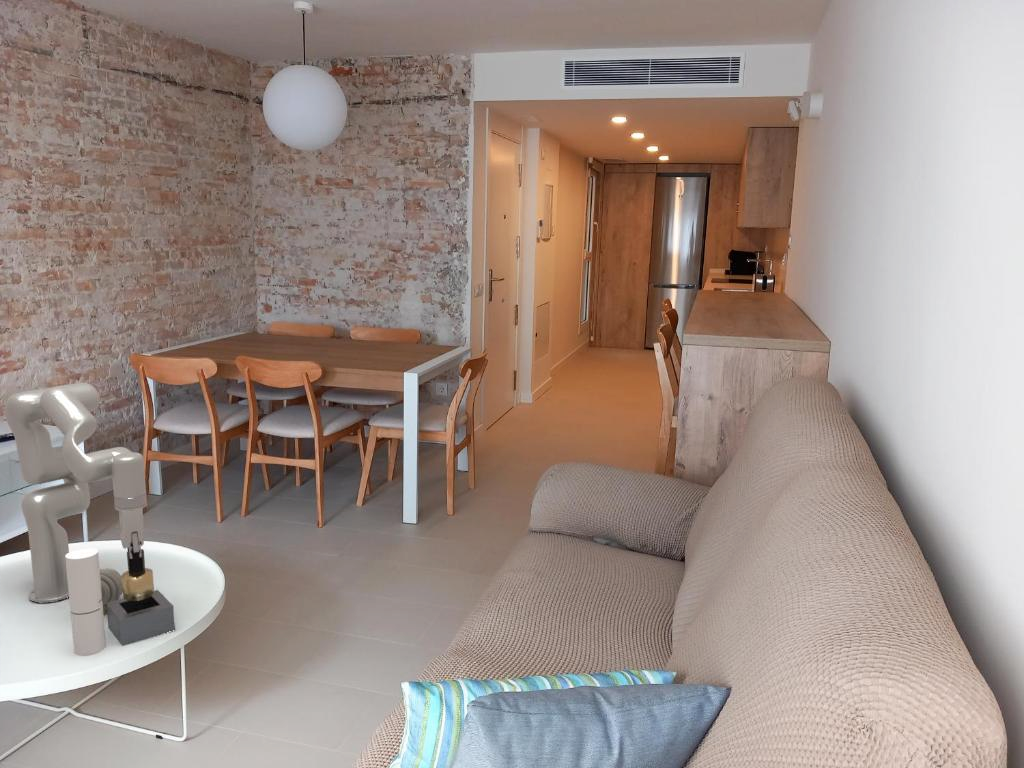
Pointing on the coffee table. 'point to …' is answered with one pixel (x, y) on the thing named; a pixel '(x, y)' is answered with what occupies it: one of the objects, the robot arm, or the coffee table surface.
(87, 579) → the cylindrical container
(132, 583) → the stepped cylindrical shaft
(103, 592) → the toy sheep
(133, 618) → the block
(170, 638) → the coffee table surface
